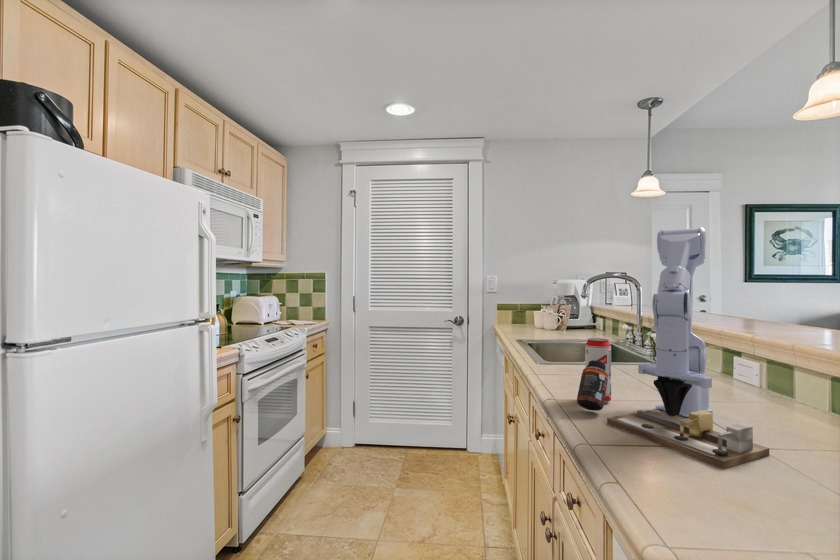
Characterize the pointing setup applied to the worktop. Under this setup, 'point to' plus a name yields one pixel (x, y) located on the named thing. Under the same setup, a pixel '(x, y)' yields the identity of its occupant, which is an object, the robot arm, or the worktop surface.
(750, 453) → the board
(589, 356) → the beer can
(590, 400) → the supplement bottle
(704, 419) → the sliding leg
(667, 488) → the worktop surface
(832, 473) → the worktop surface
